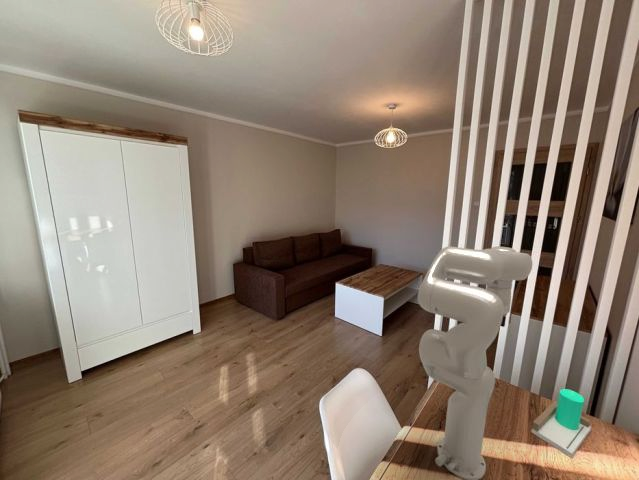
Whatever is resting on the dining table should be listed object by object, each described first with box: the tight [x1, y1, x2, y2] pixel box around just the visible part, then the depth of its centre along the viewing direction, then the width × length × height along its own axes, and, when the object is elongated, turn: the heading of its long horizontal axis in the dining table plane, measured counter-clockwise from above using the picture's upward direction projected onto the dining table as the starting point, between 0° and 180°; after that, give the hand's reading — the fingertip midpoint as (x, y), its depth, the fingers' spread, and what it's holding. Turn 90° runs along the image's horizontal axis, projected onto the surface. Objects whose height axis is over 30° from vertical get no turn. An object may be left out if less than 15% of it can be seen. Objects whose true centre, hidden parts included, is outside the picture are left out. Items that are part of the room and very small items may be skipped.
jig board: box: [531, 400, 592, 458], centre depth 87 cm, size 18×10×4 cm, turn 122°
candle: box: [555, 388, 585, 430], centre depth 89 cm, size 6×6×12 cm
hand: (492, 328), depth 94 cm, fingers open, 9 cm apart
